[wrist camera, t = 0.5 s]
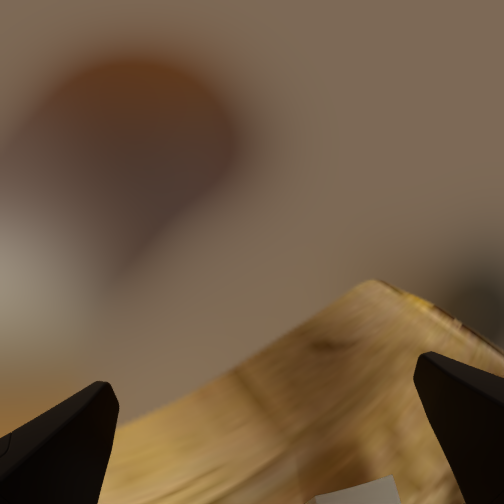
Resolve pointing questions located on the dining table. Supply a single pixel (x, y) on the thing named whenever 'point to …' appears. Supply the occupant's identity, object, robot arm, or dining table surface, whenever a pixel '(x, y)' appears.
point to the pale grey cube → (362, 494)
